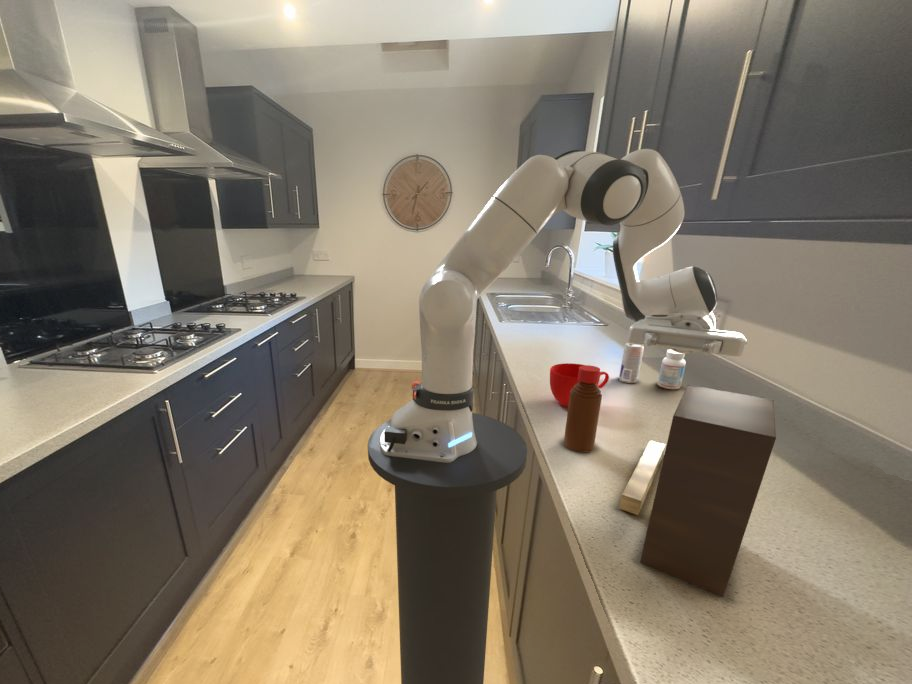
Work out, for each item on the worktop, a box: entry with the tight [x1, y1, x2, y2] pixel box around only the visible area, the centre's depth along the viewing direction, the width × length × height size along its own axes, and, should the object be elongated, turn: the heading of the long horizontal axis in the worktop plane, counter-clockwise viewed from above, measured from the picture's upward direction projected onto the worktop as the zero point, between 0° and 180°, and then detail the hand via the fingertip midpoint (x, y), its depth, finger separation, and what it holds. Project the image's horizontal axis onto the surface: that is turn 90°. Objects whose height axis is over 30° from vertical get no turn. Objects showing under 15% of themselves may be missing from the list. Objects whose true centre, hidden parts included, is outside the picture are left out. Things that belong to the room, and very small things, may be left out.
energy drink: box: [618, 342, 645, 384], centre depth 131 cm, size 5×5×12 cm
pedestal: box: [639, 384, 777, 597], centre depth 59 cm, size 14×10×24 cm
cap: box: [578, 364, 601, 384], centre depth 88 cm, size 4×4×3 cm
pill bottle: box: [657, 349, 687, 390], centre depth 125 cm, size 6×6×11 cm
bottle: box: [563, 381, 603, 453], centre depth 91 cm, size 6×6×18 cm
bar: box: [619, 440, 667, 516], centre depth 80 cm, size 25×3×3 cm, turn 141°
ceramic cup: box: [549, 362, 610, 408], centre depth 115 cm, size 13×17×10 cm
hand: (678, 346), depth 81 cm, fingers open, 8 cm apart
